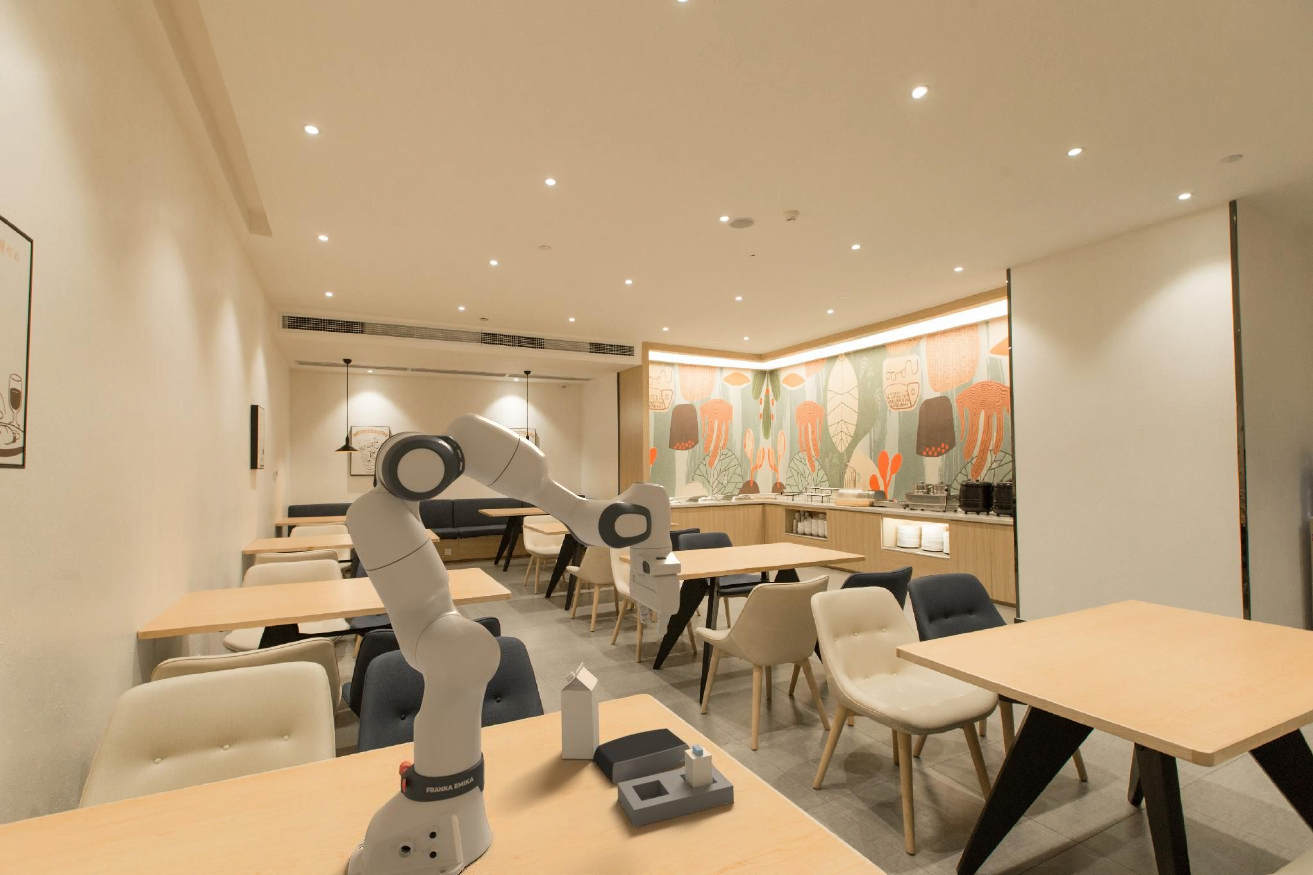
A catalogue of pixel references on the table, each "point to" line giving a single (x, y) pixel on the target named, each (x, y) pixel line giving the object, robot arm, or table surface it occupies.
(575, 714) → the milk carton
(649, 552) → the robot arm
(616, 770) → the external hard drive
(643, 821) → the socket panel
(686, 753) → the plug
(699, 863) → the table surface
